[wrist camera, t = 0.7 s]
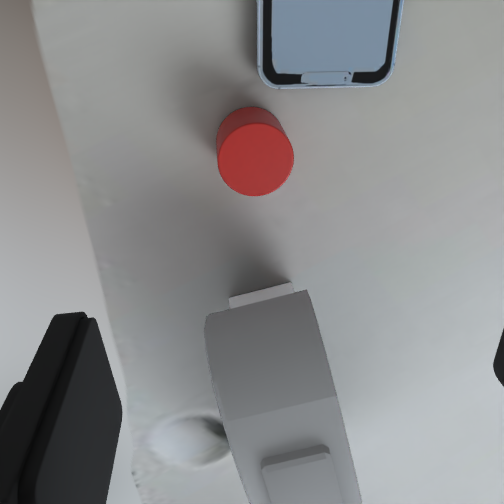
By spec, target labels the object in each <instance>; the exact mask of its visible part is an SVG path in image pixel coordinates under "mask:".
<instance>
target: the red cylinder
mask: <svg viewBox="0 0 504 504" xmlns="http://www.w3.org/2000/svg"><path fill="white" fill-rule="evenodd" d="M216 144H217V161H218V169H219V172H220V175H221V177H222V178H223V180H224V182H225V183H226V184H227V185H228V186H229V187H230V188H231V189H233V190H234V191H236V192H238V193H240V194H243V195H247V196H261V195H266V194H269V193H271V192H273V191H275V190H276V189H278V188H279V187H280V186H281V185H282V184H283V183H284V182H285V181H286V180H287V178H288V177H289V175H290V173H291V170H292V167H293V162H294V154H293V149H292V146H291V143H290V141H289V139H288V137H287V136H286V134H285V132H284V130H283V128H282V126H281V124H280V123H279V121H278V120H277V118H276V117H275V116H274V115H272V114H271V113H270V112H268V111H266V110H264V109H261V108H258V107H245V108H241V109H238V110H236V111H234V112H232V113H231V114H230V115H228V116H227V117H226V118H225V119H224V121H223V122H222V124H221V125H220V127H219V130H218V133H217V139H216Z"/></svg>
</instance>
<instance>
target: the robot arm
mask: <svg viewBox="0 0 504 504" xmlns="http://www.w3.org/2000/svg"><path fill="white" fill-rule="evenodd" d="M493 368H494V372H495V375H496V377H497V378H498V380H499V381H500V382H501V384H502V385H503V386H504V329H503V332H502V336H501V339H500V342H499V346H498V349H497V352H496V355H495V359H494V363H493ZM121 422H122V405H121V401H120V398H119V394H118V391H117V388H116V384H115V381H114V377H113V375H112V371H111V368H110V364H109V361H108V357H107V354H106V351H105V347H104V344H103V341H102V337H101V334H100V331H99V328H98V324H97V322H96V319H95V318H88V317H87V315H86V314H85V313H84V312H75V313H65V314H56V315H55V316H54V317H53V319H52V320H51V322H50V325H49V327H48V329H47V331H46V333H45V335H44V337H43V340H42V342H41V344H40V346H39V348H38V350H37V353H36V355H35V357H34V359H33V361H32V363H31V365H30V367H29V370H28V372H27V374H26V376H25V378H24V380H23V382H18V383H16V384H15V385H14V386H13V387H12V389H11V390H10V392H9V393H8V396H7V398H6V400H5V402H4V404H3V406H2V408H1V410H0V504H106V500H107V495H108V490H109V485H110V479H111V474H112V469H113V464H114V458H115V453H116V448H117V443H118V437H119V433H120V428H121Z"/></svg>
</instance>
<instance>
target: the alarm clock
mask: <svg viewBox="0 0 504 504" xmlns="http://www.w3.org/2000/svg"><path fill="white" fill-rule="evenodd" d="M229 306H230V309H228V310H224V311H220V312H216V313H212V314H209V315H208V316H207V317H206V322H205V328H204V333H205V345H206V353H207V359H208V364H209V369H210V374H211V379H212V384H213V388H214V392H215V395H216V399H217V403H218V407H219V411H220V415H221V419H222V422H223V426H224V429H225V432H226V435H227V439H228V442H229V445H230V448H231V451H232V455H233V458H234V461H235V464H236V467H237V470H238V472H239V475H240V478H241V481H242V483H243V486H244V489H245V492H246V495H247V497H248V500H249V502H250V504H362V499H361V495H360V490H359V486H358V481H357V477H356V472H355V468H354V464H353V460H352V456H351V451H350V447H349V443H348V439H347V435H346V430H345V426H344V422H343V418H342V414H341V410H340V406H339V402H338V398H337V394H336V390H335V386H334V383H333V379H332V375H331V371H330V367H329V363H328V359H327V356H326V352H325V348H324V345H323V341H322V337H321V334H320V330H319V326H318V323H317V319H316V316H315V313H314V309H313V306H312V303H311V300H310V297H309V294H308V292H307V290H303V291H299V292H295V293H294V290H293V286H292V283H291V282H289V283H285V284H282V285H278V286H274V287H270V288H266V289H262V290H258V291H254V292H250V293H246V294H242V295H238V296H234V297H230V298H229Z"/></svg>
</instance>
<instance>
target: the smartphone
mask: <svg viewBox="0 0 504 504" xmlns="http://www.w3.org/2000/svg"><path fill="white" fill-rule="evenodd" d="M256 3H257V70H258V74H259V76H260V78H261V79H262V81H263V82H264V83H265V84H266V85H267V86H269V87H271V88H274V89H297V88H341V87H375V86H379V85H381V84H383V83H384V82H386V81H387V80H388V79H389V77H390V76H391V74H392V72H393V70H394V66H395V59H396V52H397V45H398V38H399V31H400V24H401V17H402V10H403V3H404V0H256Z"/></svg>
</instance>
